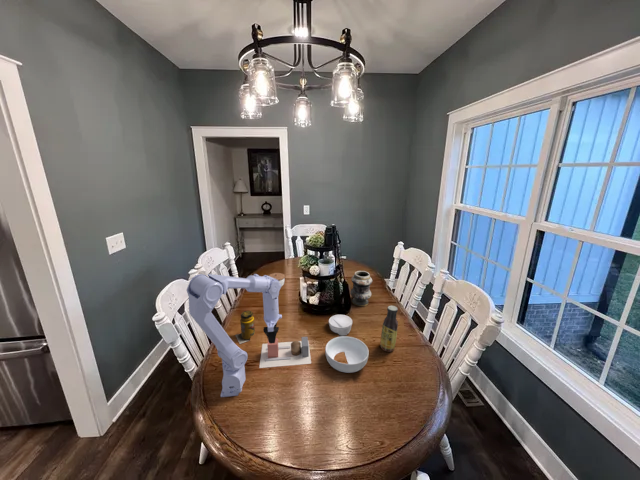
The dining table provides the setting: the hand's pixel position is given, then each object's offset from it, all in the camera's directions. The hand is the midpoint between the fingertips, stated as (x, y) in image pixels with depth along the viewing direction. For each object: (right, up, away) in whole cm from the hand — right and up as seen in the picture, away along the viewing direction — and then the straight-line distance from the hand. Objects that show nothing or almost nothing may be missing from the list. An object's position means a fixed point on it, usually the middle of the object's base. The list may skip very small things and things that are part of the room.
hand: (272, 336), depth 103 cm
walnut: (+9, -8, +3) cm, 13 cm away
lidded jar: (-9, +8, +65) cm, 66 cm away
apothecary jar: (+43, +2, +47) cm, 63 cm away
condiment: (-15, -6, +16) cm, 22 cm away
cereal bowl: (+30, -11, 0) cm, 32 cm away
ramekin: (+29, -5, +21) cm, 36 cm away
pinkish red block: (0, -8, +2) cm, 8 cm away
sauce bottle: (+49, -8, +9) cm, 50 cm away
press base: (+5, -9, +3) cm, 11 cm away
